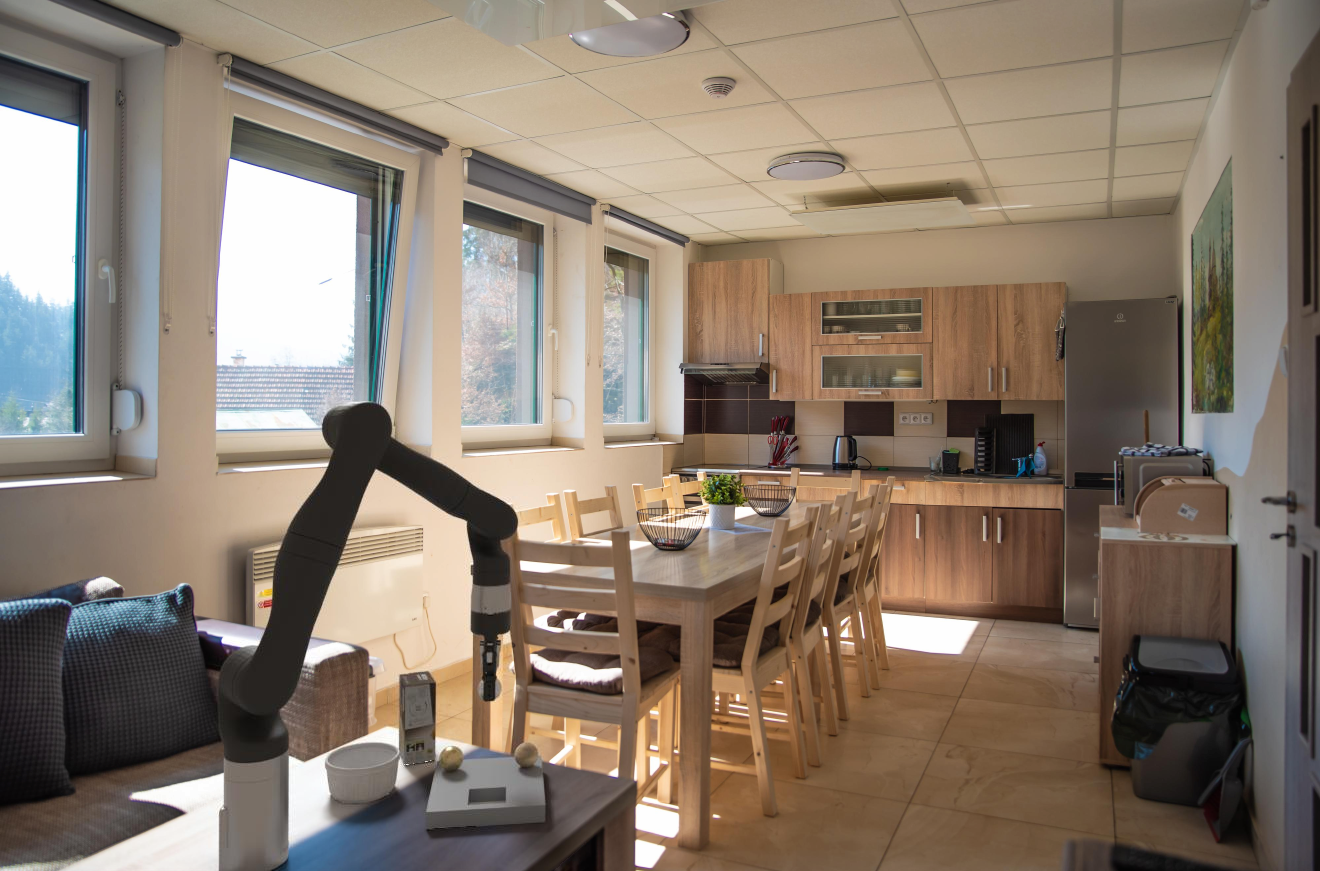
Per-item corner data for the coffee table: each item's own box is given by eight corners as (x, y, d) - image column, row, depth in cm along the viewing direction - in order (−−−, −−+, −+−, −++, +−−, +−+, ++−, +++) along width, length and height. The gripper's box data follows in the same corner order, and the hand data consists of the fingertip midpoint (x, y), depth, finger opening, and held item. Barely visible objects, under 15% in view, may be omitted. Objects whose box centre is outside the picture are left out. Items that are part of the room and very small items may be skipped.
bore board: (425, 829, 146) (426, 812, 146) (437, 776, 168) (437, 760, 168) (545, 822, 150) (545, 804, 150) (541, 770, 171) (541, 755, 171)
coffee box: (436, 761, 175) (437, 682, 175) (403, 766, 173) (404, 686, 172) (428, 745, 184) (429, 670, 183) (397, 749, 181) (397, 673, 180)
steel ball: (477, 704, 162) (477, 680, 162) (477, 697, 166) (478, 673, 166) (501, 703, 163) (501, 680, 163) (501, 696, 167) (502, 673, 167)
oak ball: (514, 771, 163) (514, 748, 163) (514, 762, 168) (514, 739, 168) (538, 770, 164) (538, 746, 164) (537, 761, 169) (538, 738, 168)
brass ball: (437, 775, 161) (438, 751, 161) (440, 766, 165) (440, 742, 165) (462, 774, 162) (463, 750, 162) (464, 764, 166) (464, 741, 166)
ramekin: (308, 798, 158) (308, 760, 158) (362, 771, 170) (362, 736, 170) (362, 813, 152) (363, 774, 152) (414, 785, 164) (415, 749, 164)
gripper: (472, 599, 171) (471, 685, 171) (468, 615, 156) (467, 709, 157) (511, 598, 172) (509, 684, 172) (511, 614, 158) (509, 708, 158)
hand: (489, 696), depth 164 cm, fingers closed on steel ball, 4 cm apart
